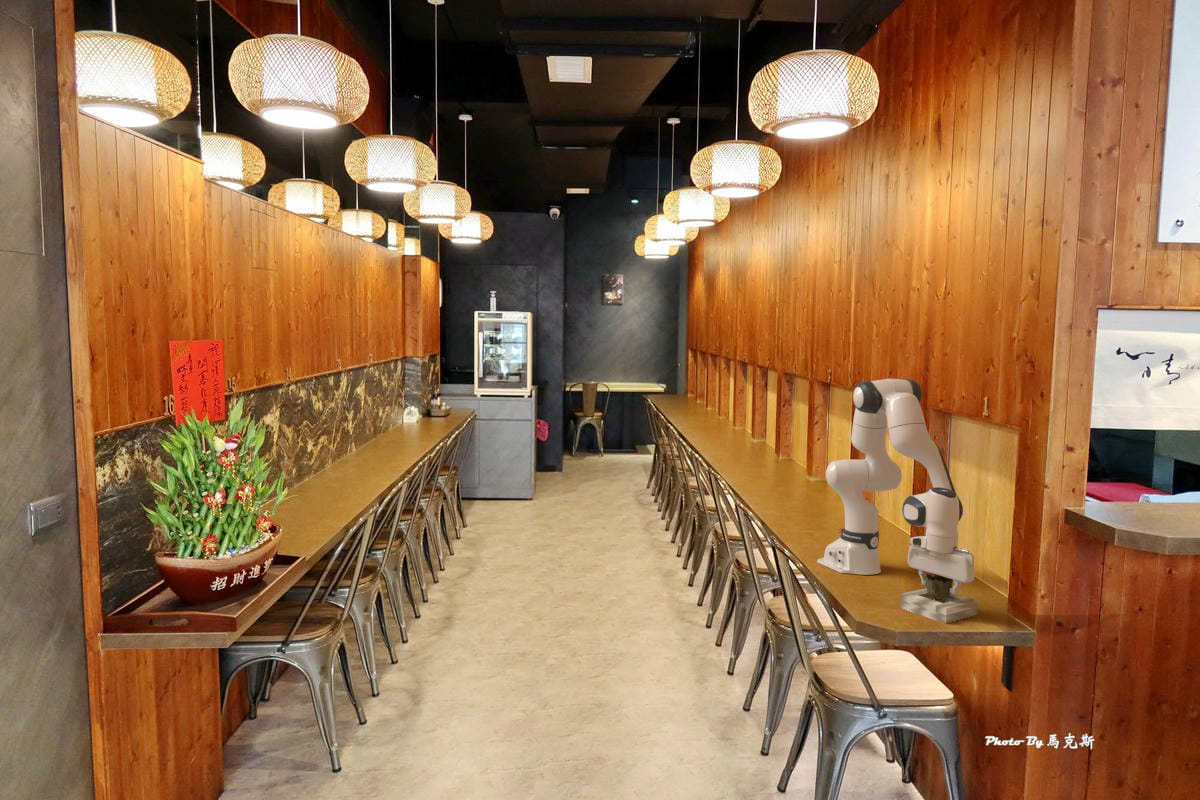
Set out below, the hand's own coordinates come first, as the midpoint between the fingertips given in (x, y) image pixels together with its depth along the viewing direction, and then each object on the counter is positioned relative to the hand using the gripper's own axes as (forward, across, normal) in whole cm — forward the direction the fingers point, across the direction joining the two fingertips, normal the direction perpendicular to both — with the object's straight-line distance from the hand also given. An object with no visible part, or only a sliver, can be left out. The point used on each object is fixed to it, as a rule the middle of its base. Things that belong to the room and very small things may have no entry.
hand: (939, 589), depth 232 cm
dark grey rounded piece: (+4, 0, 0) cm, 4 cm away
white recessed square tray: (+7, 0, 0) cm, 7 cm away
